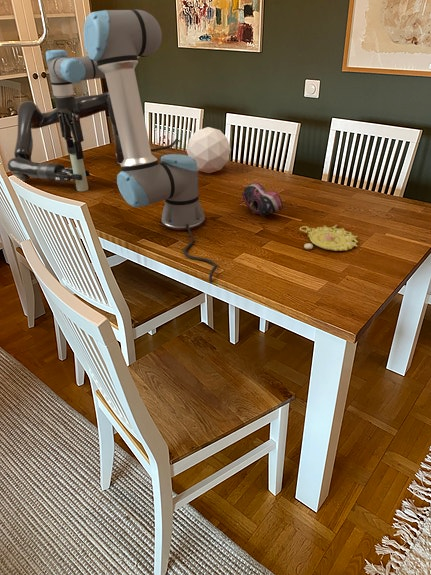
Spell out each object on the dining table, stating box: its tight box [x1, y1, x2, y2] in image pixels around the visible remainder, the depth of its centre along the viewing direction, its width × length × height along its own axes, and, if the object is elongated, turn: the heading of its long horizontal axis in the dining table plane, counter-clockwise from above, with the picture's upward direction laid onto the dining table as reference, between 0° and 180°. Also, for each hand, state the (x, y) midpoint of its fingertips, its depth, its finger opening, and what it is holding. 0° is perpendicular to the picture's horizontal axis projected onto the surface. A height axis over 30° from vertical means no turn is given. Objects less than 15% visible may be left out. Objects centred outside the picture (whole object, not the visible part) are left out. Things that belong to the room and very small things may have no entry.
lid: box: [66, 145, 83, 154], centre depth 178 cm, size 6×6×2 cm
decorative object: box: [299, 224, 359, 252], centre depth 141 cm, size 21×2×20 cm
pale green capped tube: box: [68, 153, 89, 193], centre depth 182 cm, size 5×5×17 cm
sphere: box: [186, 126, 232, 174], centre depth 198 cm, size 19×20×20 cm
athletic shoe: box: [238, 182, 284, 217], centre depth 160 cm, size 11×22×12 cm
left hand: (85, 175), depth 183 cm, fingers closed on pale green capped tube, 4 cm apart
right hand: (76, 157), depth 180 cm, fingers closed on lid, 6 cm apart
